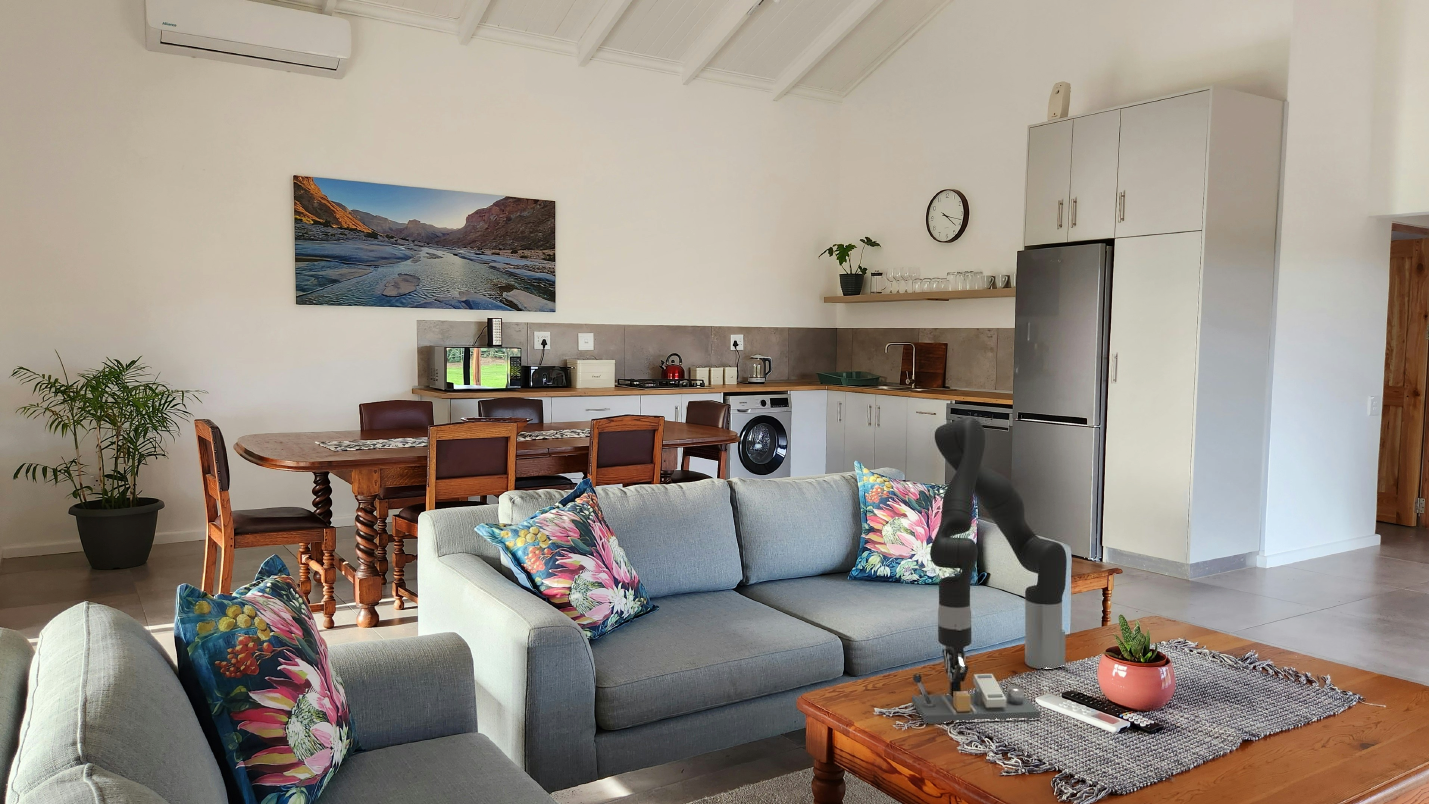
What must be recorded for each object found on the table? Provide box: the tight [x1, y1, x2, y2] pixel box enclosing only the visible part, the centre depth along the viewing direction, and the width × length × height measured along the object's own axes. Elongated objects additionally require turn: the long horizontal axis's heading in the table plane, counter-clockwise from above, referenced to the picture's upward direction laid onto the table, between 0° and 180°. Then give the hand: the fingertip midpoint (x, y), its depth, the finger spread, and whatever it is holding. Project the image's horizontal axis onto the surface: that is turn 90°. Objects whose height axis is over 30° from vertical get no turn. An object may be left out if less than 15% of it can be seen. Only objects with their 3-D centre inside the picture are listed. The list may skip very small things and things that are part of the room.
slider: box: [953, 690, 971, 712], centre depth 213 cm, size 3×3×4 cm
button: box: [1006, 684, 1024, 704], centre depth 217 cm, size 4×4×3 cm
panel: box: [911, 686, 1041, 725], centre depth 216 cm, size 26×12×5 cm, turn 92°
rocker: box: [972, 673, 1007, 707], centre depth 216 cm, size 4×10×2 cm, turn 2°
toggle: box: [912, 673, 931, 704], centre depth 216 cm, size 2×2×8 cm
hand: (955, 695), depth 219 cm, fingers closed
